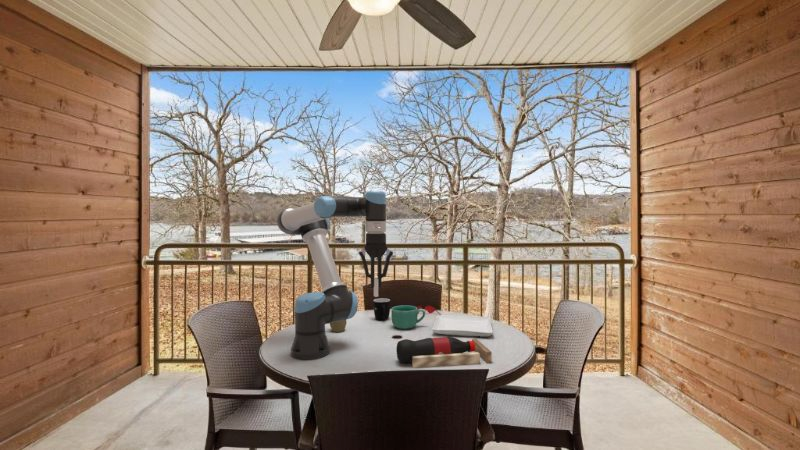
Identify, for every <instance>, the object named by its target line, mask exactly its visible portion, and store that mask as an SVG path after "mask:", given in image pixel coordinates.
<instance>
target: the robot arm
mask: <svg viewBox="0 0 800 450" xmlns="http://www.w3.org/2000/svg"><path fill="white" fill-rule="evenodd" d="M334 217H335V218H340V217H341V218H342V217H343V218H344V217H346V218H349V217H350V218H353V217H354V218H358V217H359V218H362V217H363V218H364V217H365V231H366V233H365V246H364V248H363V249H362V250H359V251H358V255H359V256H360V258H361V261H362V265H363V268H364V269H363V270H364V273H365V277H366V278H369V279H370V287H371V288H373V297H375V298H377V297H379V288H381V287H382V279H383V278H385V277H386V276H387V274H388V271H389V270H388V269H389V265H390V261H391V258H392V256H393V254H394V252H393V251H392V250H390V249H388V246H387V234H386V231H387V222H386V220H387V195H386V192H385V191H382V190H368V191H366V192H365V197H363V196H362V197H361V196H332V195H331V196H330V195H323V196H321V195H320V196H318V197H316V199H315V201H314V202H311V203H308V204H305V205H302V206H300V207H296V208H292V207H291V208H290V207H289V208H286V209H283V210H282V211H280V212H279V214H278V215H277V218H276V225H277V227H278V229H279V230H280V231H281V232H282V233H284V234H287V235H289V236H292V235H293V236H301V239H302V241H303V242H305V243H307V246H308V249H309V250H308V251H309V252H310V256H311V259H312V262H313V264H314V267H315V270H316V273H317V277H318V280H319V283H320V285H321V289H322V290H321V292H320V291H315V292H308V293H304V294H302V295H299V296H298V297H297V298H296V299H295V300H294V329H295V330H294V332H295V333H294V337H293V341H292V344H291V347H290V356H291V357H292V358H294V359H297V360H316V359H320V358H324V357H326V356H328V355H329V354H330V349H331V347H330V342H329V340H328V338H327V337H328V336H327V335H326V325H330V323H333V322H338V321H345V320H346V321H348V320H349V319H352V318H354V317H355V316H356V314H357V312H358V308H359V307H358V305H359V301H358V297H357V294H356V293H355V292H354V291H353V290H349V289H348V286H347V285H346V284H345V283H343V282H342V280H341V277H340V274H339V271H338V268H337V266H336V263H335V260H334V256H333V254H332V251H331V248H330V246H329V243H328V240H327V235H328V231H329V228H330V218H334ZM385 254H386V257H385V261H384V266H383V270H382V257H383V256H384V255H385ZM366 255H368V256H369V257H370V272H369V268H368V264H367V259H366ZM375 258H377V259H376V260H377V262H376V263H377V264H376V265H377V270H376V271H377V275H376V276H377V277H375Z"/></svg>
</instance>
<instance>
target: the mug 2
mask: <svg viewBox="0 0 800 450" xmlns="http://www.w3.org/2000/svg"><path fill="white" fill-rule="evenodd" d="M415 306H416V305H415ZM415 306H414V305H408V304H407V305H404V304H403V305H402V304H401V305H396V306H393V307H391V308H390V312H391V313H390V314H391V324H392V325H393V326H394V327H396V328H397V329H399V330H409V329H411V328H413V327H415V326H416V325H417V324H419V323H420V322H421V321H423V320H424V318H425V317H426V311H425V309H424V308H422V309H419V310H417V307H418V306H416V307H415ZM421 311H422V312H421ZM420 312H421V313H422V316H421V317H420V318H418V316H419V313H420Z"/></svg>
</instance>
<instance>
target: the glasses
mask: <svg viewBox="0 0 800 450" xmlns="http://www.w3.org/2000/svg"><path fill="white" fill-rule="evenodd" d="M415 307H417V310H419V309H423V310H424V311H425V312H427V313H428V314H432V313H434V312H437V314H438V315H442V314H441V313H440V312H439V311H438V310H437V309H436V307H435V306H432V305H431V304H430V305H428V304H427V305H425V306H424V308H423V306H417V305H415ZM420 312H421V313H423V312H422V311H420Z"/></svg>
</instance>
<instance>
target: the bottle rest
mask: <svg viewBox="0 0 800 450" xmlns="http://www.w3.org/2000/svg"><path fill="white" fill-rule="evenodd" d="M462 341H463V342H467V341H468V340H462ZM471 341H474V343H475V351H473V352H464V353H457V354H440V355H424V356H412V362H411V366H412V368H413V369H414V368H432V367H444V366H460V365H476V364H481V359H482V361H484V362H485V363H486V364H492V363H493V362H492V359H493V358H492V356H493V355H492V354H493V353H492V351H491V350H490V349H489V348H488V347H486V345H484V344H483V343H482V342H481V340H479V339H478V338H473V339H471Z"/></svg>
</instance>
